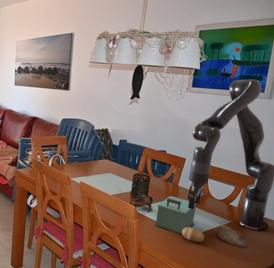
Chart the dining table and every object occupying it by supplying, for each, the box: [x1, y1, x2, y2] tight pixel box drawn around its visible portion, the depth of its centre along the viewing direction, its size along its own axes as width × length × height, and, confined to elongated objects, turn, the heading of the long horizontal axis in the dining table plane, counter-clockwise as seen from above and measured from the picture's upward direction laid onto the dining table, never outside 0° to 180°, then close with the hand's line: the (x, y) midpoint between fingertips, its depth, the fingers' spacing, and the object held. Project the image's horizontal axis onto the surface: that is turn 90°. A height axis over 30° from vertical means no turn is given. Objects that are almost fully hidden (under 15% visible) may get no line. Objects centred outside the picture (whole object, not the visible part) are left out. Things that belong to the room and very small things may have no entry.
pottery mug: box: [132, 194, 154, 212], centre depth 180 cm, size 12×10×8 cm
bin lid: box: [157, 195, 197, 215], centre depth 160 cm, size 18×13×5 cm
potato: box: [181, 226, 205, 243], centre depth 147 cm, size 9×5×5 cm, turn 50°
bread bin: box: [155, 204, 197, 235], centre depth 162 cm, size 17×13×10 cm
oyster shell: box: [217, 224, 246, 247], centre depth 150 cm, size 10×12×5 cm
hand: (193, 206), depth 148 cm, fingers open, 8 cm apart
